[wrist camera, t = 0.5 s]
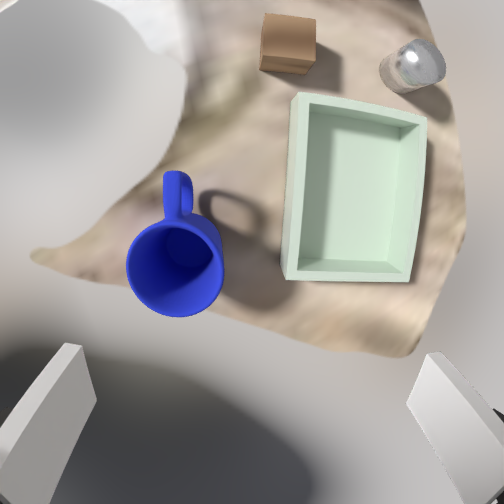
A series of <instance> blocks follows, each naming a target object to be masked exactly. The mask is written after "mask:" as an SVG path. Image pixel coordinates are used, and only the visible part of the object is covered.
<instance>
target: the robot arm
mask: <svg viewBox="0 0 504 504" xmlns="http://www.w3.org/2000/svg"><path fill="white" fill-rule="evenodd" d="M96 401H97V399H96V396H95V393H94V390H93V386H92V383H91V379H90V376H89V372H88V368H87V365H86V361H85V357H84V353H83V349H82V346H80V345H74V344H69V343H65V344H64V345H63V346H62V347H61V348H60V350H59V351H58V352H57V353H56V354H55V356H54V357H53V358H52V360H51V361H50V362H49V363H48V364H47V366H46V367H45V368H44V370H43V371H42V372H41V373H40V375H39V376H38V377H37V378H36V380H35V381H34V382H33V384H32V385H31V386H30V388H29V389H28V390H27V391H26V393H25V395H24V396H23V397H22V398H21V400H20V401H19V403H18V404H17V405H16V406H15V408H14V409H11V408H8V407H6V408H5V409H3V410H2V411H0V504H49V503H50V500H51V498H52V496H53V493H54V491H55V489H56V486H57V484H58V481H59V479H60V477H61V475H62V472H63V470H64V468H65V465H66V463H67V461H68V459H69V457H70V455H71V452H72V450H73V448H74V446H75V443H76V442H77V439H78V437H79V435H80V433H81V431H82V429H83V427H84V425H85V423H86V421H87V419H88V417H89V415H90V412H91V411H92V409H93V407H94V405H95V403H96ZM406 405H407V406H408V408H409V409H410V411H411V412H412V414H413V416H414V417H415V419H416V421H417V422H418V424H419V426H420V427H421V429H422V431H423V432H424V434H425V436H426V437H427V439H428V440H429V442H430V444H431V446H432V448H433V449H434V451H435V452H436V454H437V456H438V458H439V459H440V461H441V463H442V465H443V466H444V468H445V470H446V472H447V473H448V475H449V477H450V479H451V480H452V482H453V484H454V486H455V488H456V490H457V491H458V493H459V495H460V497H461V499H462V501H463V503H464V504H491V503H492V502H493V501H494V500H495V499H497V501H498V503H497V504H504V415H503V414H502V413H500V412H498V411H497V410H495V409H492V408H491V407H490V406H489V405H488V404H487V403H486V401H485V400H484V399H483V398H482V397H481V395H480V394H479V393H478V392H477V391H476V390H475V389H474V387H473V386H471V384H470V383H469V382H468V381H467V380H466V378H465V377H464V376H463V375H462V374H461V373H460V372H459V371H458V370H457V369H456V367H455V366H454V365H453V364H452V363H451V362H450V361H449V360H448V359H447V358H446V357H445V356H444V355H443V354H442V352H441V351H439V352H432V353H427V354H426V357H425V360H424V362H423V364H422V367H421V370H420V372H419V375H418V377H417V380H416V382H415V384H414V387H413V389H412V392H411V394H410V396H409V398H408V400H407V403H406Z"/></svg>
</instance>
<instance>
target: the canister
mask: <svg viewBox="0 0 504 504" xmlns="http://www.w3.org/2000/svg"><path fill="white" fill-rule="evenodd" d="M379 72H380V76H381V79H382V81H383V82H384V84H385V85H386V86H387V87H388V88H389V89H390V90H392V91H393V92H396V93H399V94H405V93H408V92H411V91H414V90H416V89H419V88H422V87H425V86H428V85H431V84H434V83H437V82H439V81H441V80H442V79H443V78H444V76H445V74H446V64H445V61H444V58H443V56H442V54H441V53H440V51H439V50H438V49H437V48H436V47H435V46H434V45H433V44H432V43H430V42H428V41H426V40H423V39H415V40H413V41H411V42H410V43H408V44H406V45H405V46H403V47H402V48H400V49H399V50H397V51H395V52H394V53H392V54H391V55H389V56H388V57H386V58H385V59H383V60H382V62H381V64H380V67H379Z"/></svg>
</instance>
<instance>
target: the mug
mask: <svg viewBox="0 0 504 504" xmlns="http://www.w3.org/2000/svg"><path fill="white" fill-rule="evenodd" d="M163 203H164V213H165V219H164V220H162V221H160V222H158V223H155V224H153V225H151V226H149V227H147V228H146V229H144V230H143V231H142V232H141V233H140V234H139V235H138V236H137V237H136V238H135V240H134V241H133V243H132V244H131V246H130V249H129V251H128V255H127V261H126V271H127V277H128V281H129V283H130V286H131V288H132V290H133V292H134V293H135V295H136V296H137V297H138V298H139V300H140V301H141V302H142V303H144V304H145V305H146V306H147V307H148V308H150V309H151V310H153V311H155V312H157V313H160V314H162V315H166V316H170V317H187V316H192V315H194V314H197V313H199V312H201V311H203V310H205V309H206V308H207V307H209V306H210V305H211V304H212V303H213V302H214V301H215V299H216V298H217V296H218V295H219V293H220V291H221V288H222V285H223V281H224V261H223V251H222V242H221V237H220V234H219V232H218V230H217V228H216V227H215V226H214V225H213V223H212V222H210V221H209V220H208V219H207V218H205V217H203V216H201V215H198V214H194V213H192V210H193V185H192V181H191V179H190V177H189V176H188V175H187V174H186V173H184V172H181V171H167V172H165V173H164V176H163Z"/></svg>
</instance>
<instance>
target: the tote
mask: <svg viewBox="0 0 504 504" xmlns="http://www.w3.org/2000/svg"><path fill="white" fill-rule="evenodd" d="M426 144H427V117H423V116H420V115H416V114H413V113H409V112H405V111H401V110H397V109H393V108H389V107H385V106H380V105H376V104H371V103H366V102H361V101H356V100H351V99H345V98H340V97H334V96H327V95H320V94H313V93H306V92H298V94H297V95H296V96H295V97H294V98H293V100H292V101H291V102H290V118H289V137H288V154H287V170H286V185H285V199H284V213H283V226H282V239H281V251H280V263H279V264H280V267H281V269H282V272H283V274H284V277H285V279H286V280H306V281H353V282H409V279H410V274H411V269H412V264H413V259H414V253H415V247H416V241H417V235H418V229H419V222H420V214H421V206H422V197H423V188H424V176H425V163H426Z"/></svg>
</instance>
